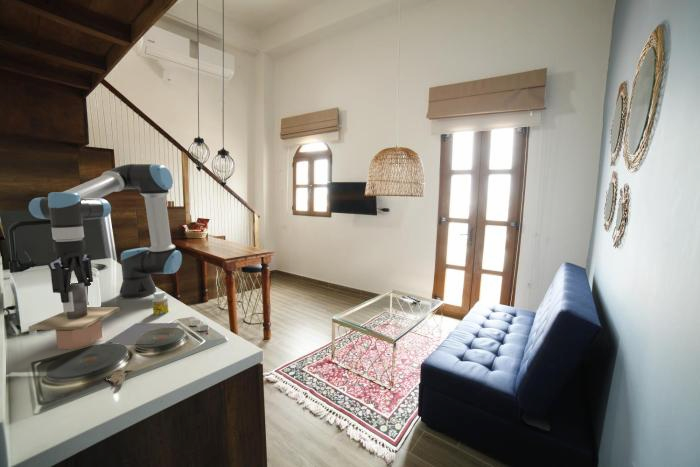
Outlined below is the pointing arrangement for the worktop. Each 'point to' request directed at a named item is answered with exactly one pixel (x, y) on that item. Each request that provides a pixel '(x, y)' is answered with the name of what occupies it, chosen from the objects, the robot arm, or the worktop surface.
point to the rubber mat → (137, 332)
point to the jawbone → (118, 377)
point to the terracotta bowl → (79, 336)
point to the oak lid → (75, 313)
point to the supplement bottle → (160, 303)
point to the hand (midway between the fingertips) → (76, 307)
